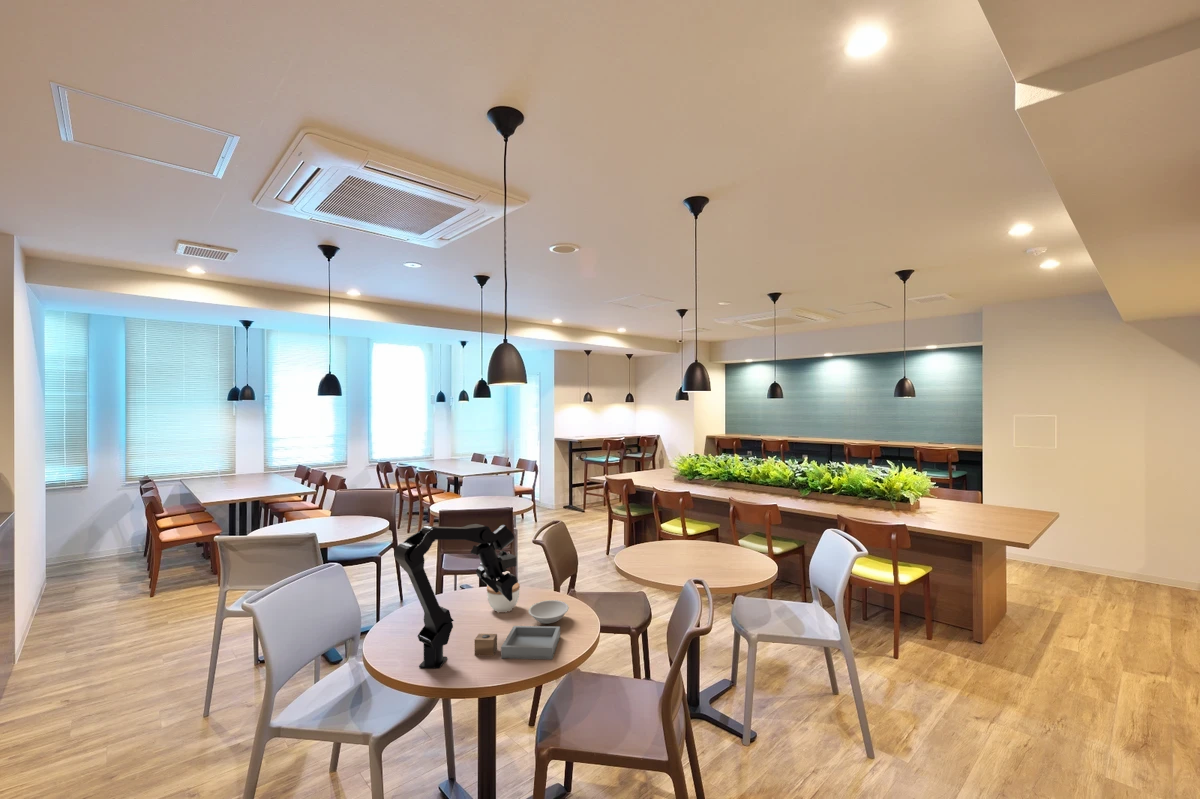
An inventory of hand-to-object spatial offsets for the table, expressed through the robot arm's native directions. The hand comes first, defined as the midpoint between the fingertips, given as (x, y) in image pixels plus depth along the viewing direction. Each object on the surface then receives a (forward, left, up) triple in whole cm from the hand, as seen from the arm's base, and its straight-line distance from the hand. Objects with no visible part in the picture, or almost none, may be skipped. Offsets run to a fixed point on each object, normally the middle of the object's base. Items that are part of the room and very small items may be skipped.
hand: (504, 596), depth 178 cm
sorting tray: (-10, -12, -13) cm, 20 cm away
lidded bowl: (+22, +6, -13) cm, 27 cm away
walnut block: (-14, +2, -13) cm, 19 cm away
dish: (+10, -14, -13) cm, 22 cm away
